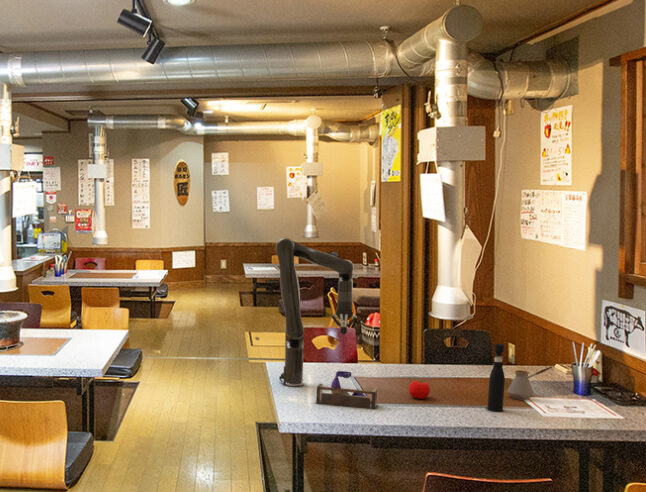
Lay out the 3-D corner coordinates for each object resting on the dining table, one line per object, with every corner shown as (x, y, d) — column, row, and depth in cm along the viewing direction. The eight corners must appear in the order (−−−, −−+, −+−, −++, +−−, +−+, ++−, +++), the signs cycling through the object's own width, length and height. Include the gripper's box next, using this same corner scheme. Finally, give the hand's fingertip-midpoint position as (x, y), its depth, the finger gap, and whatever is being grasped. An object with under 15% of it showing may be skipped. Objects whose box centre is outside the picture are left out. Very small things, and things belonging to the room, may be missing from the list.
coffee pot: (515, 401, 354) (517, 370, 351) (502, 395, 365) (504, 365, 362) (557, 400, 356) (560, 369, 354) (543, 393, 367) (545, 363, 365)
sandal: (374, 404, 350) (376, 373, 347) (331, 404, 350) (332, 373, 347) (370, 399, 358) (371, 369, 355) (328, 399, 358) (329, 369, 355)
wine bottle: (484, 407, 343) (488, 343, 338) (498, 407, 344) (502, 343, 339) (491, 411, 337) (496, 346, 332) (505, 411, 338) (510, 345, 333)
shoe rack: (316, 403, 352) (316, 386, 351) (319, 399, 358) (319, 383, 357) (374, 409, 342) (375, 392, 341) (376, 405, 349) (377, 388, 347)
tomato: (404, 397, 361) (405, 380, 360) (417, 394, 367) (418, 377, 366) (421, 401, 354) (422, 384, 353) (434, 398, 360) (435, 381, 359)
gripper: (330, 300, 374) (329, 334, 377) (357, 301, 369) (356, 336, 372) (332, 298, 381) (331, 332, 384) (359, 299, 376) (358, 333, 379)
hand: (343, 334), depth 378 cm, fingers closed
